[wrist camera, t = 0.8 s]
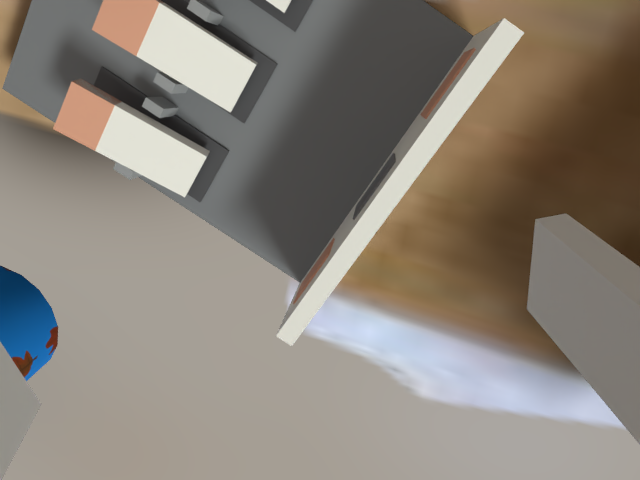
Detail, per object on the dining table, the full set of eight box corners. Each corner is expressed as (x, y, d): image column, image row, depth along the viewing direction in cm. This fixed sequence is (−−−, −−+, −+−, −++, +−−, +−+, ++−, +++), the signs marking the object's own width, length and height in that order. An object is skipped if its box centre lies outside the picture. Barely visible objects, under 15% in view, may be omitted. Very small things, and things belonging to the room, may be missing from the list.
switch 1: (257, 62, 26) (256, 64, 25) (233, 108, 27) (230, 112, 26) (121, -25, 24) (113, -27, 23) (100, 29, 25) (91, 29, 24)
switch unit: (478, 50, 27) (524, 32, 18) (318, 273, 34) (291, 346, 24) (137, -191, 26) (-5, -347, 17) (36, 88, 32) (-109, 89, 23)
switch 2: (209, 151, 28) (206, 156, 27) (188, 190, 29) (184, 197, 28) (80, 78, 26) (71, 81, 25) (62, 124, 27) (53, 128, 26)
